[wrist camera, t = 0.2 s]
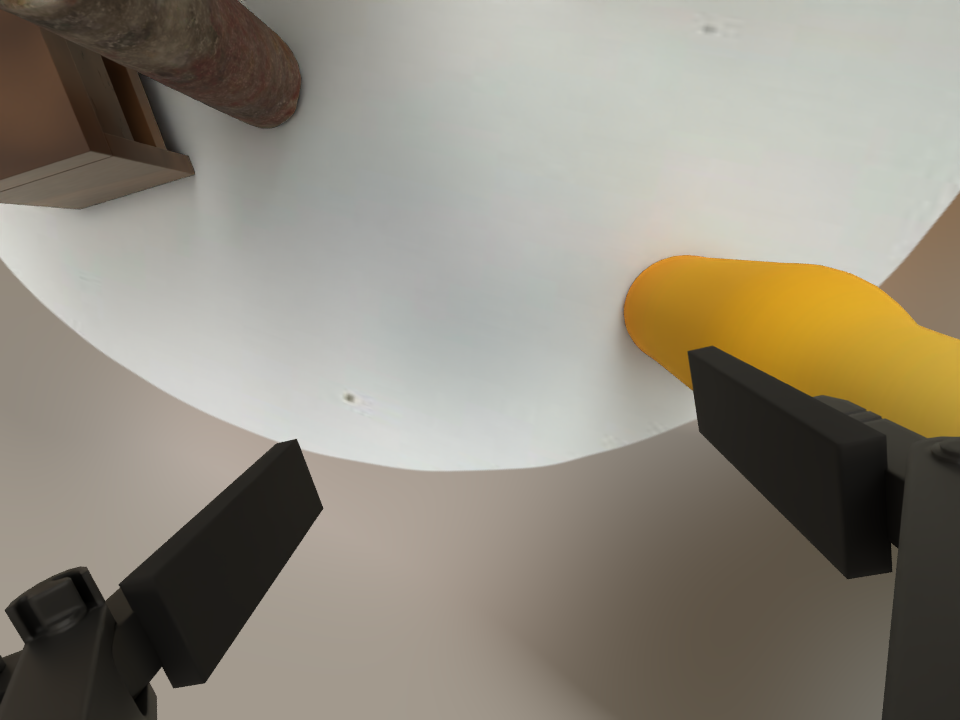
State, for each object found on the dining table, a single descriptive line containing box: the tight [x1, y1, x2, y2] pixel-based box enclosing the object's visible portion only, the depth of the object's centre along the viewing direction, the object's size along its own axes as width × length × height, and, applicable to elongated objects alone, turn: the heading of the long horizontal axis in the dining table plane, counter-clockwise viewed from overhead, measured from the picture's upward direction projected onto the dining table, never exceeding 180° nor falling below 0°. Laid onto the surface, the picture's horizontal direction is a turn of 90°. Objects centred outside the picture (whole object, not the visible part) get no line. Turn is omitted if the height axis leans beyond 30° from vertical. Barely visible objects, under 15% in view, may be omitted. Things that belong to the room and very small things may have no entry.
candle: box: [0, 0, 301, 128], centre depth 29 cm, size 8×7×20 cm
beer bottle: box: [624, 255, 960, 438], centre depth 27 cm, size 9×9×29 cm
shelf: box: [0, 9, 195, 209], centre depth 34 cm, size 18×12×10 cm, turn 14°
